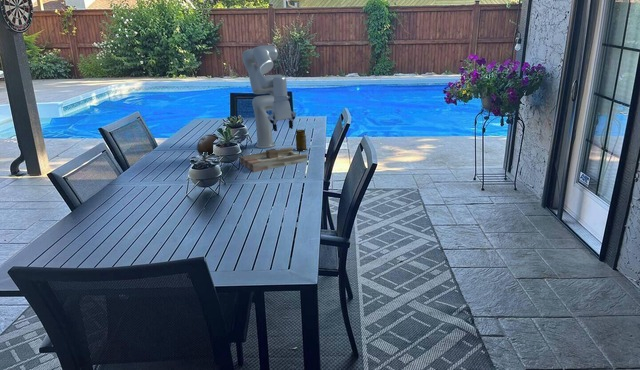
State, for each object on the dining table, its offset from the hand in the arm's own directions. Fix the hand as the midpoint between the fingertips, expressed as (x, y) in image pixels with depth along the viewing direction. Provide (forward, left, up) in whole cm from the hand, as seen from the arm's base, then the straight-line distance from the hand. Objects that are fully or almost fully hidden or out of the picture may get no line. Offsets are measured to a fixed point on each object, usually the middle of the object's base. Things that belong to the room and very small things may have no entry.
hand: (283, 129), depth 271 cm
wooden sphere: (-25, -36, -17) cm, 47 cm away
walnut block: (-1, -8, -15) cm, 17 cm away
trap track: (+3, -9, -17) cm, 19 cm away
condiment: (-11, +16, -17) cm, 26 cm away
